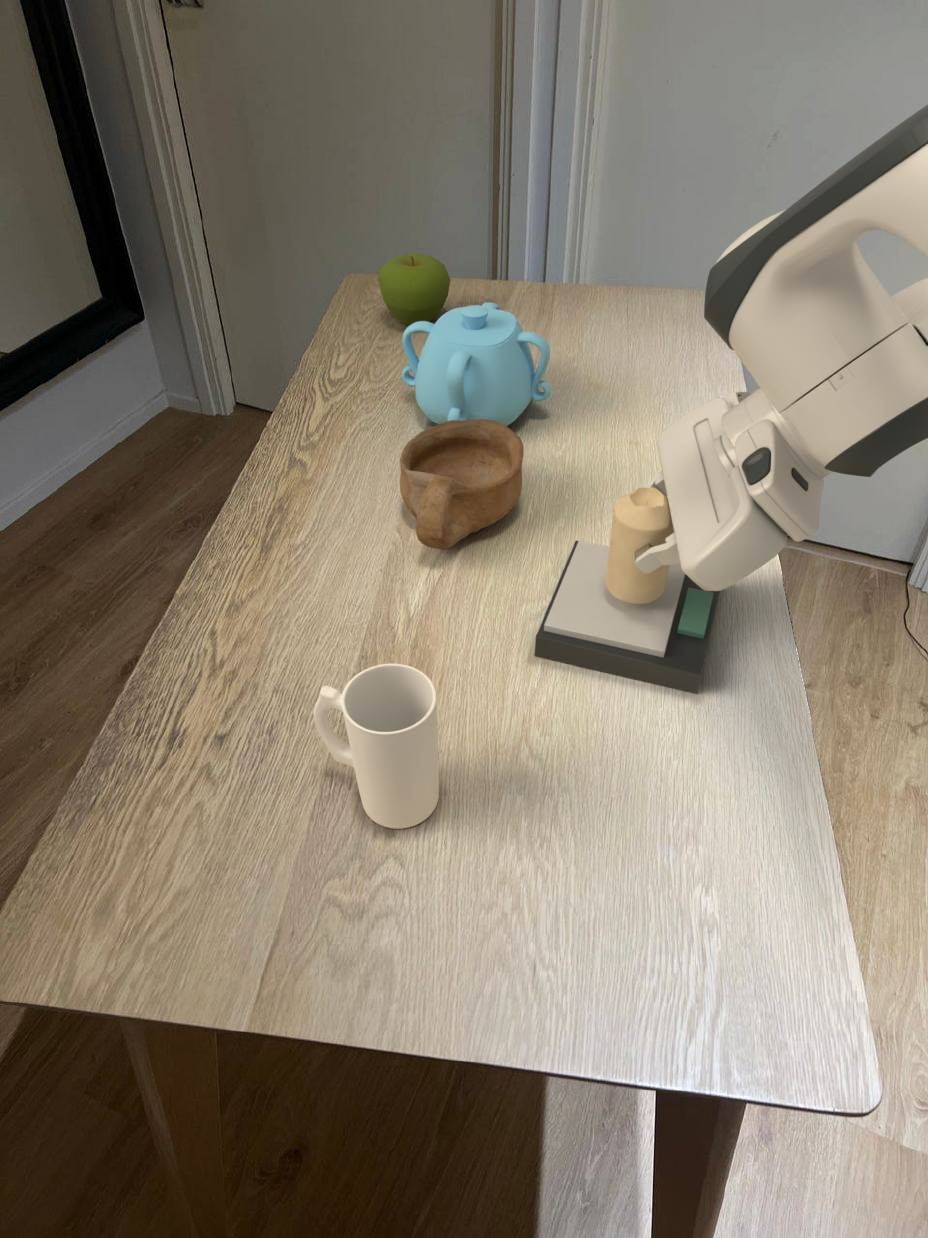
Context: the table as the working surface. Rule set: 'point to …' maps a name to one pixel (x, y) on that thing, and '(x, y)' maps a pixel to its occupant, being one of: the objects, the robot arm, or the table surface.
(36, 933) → the table surface
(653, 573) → the candle
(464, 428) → the bowl
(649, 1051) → the table surface
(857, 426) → the robot arm
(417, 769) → the mug
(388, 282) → the apple
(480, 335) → the decorative pot
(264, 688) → the table surface
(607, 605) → the scale
